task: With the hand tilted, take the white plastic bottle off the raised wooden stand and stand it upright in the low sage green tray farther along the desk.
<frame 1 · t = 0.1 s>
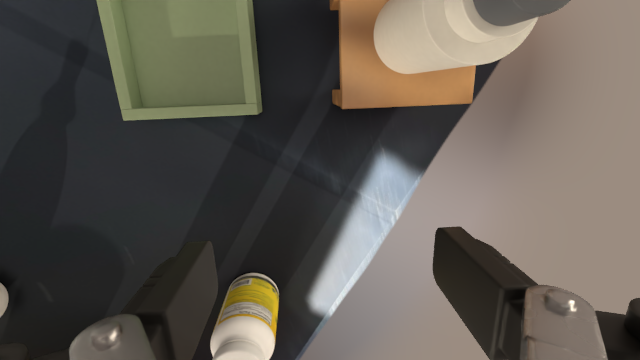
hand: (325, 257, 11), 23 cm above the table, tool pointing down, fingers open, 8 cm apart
wooden stand: (379, 49, 30), on the table
pill bottle: (254, 291, 37), on the table
sage green tray: (192, 44, 29), on the table
white bottle: (410, 33, 22), point 9 cm above the table, touching wooden stand
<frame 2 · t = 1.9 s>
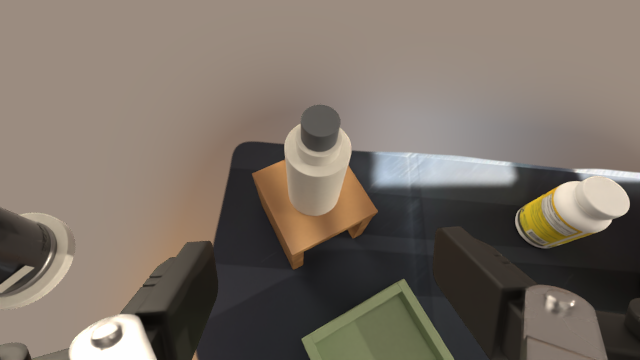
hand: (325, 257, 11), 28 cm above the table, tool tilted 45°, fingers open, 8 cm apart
wooden stand: (311, 219, 41), on the table
pill bottle: (534, 227, 42), on the table
white bottle: (313, 192, 33), point 9 cm above the table, touching wooden stand
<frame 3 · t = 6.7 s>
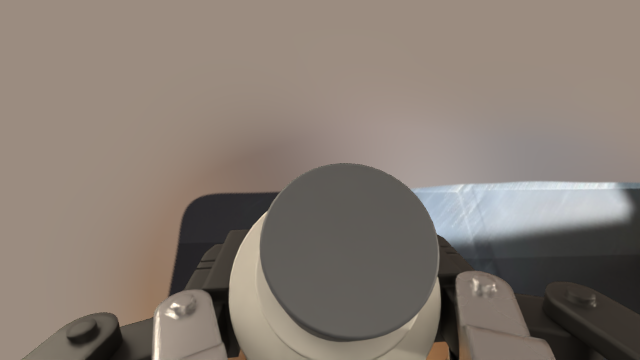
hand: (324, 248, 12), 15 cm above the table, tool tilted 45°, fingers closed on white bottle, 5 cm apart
wooden stand: (320, 324, 24), on the table
white bottle: (323, 313, 16), point 9 cm above the table, touching gripper, wooden stand
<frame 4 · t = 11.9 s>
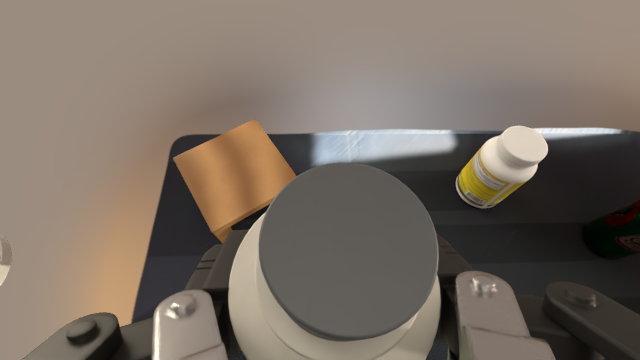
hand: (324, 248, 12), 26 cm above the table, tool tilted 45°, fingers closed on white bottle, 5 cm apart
wooden stand: (250, 203, 40), on the table
pill bottle: (475, 189, 42), on the table
soda can: (600, 240, 39), on the table
white bottle: (323, 313, 16), point 20 cm above the table, touching gripper
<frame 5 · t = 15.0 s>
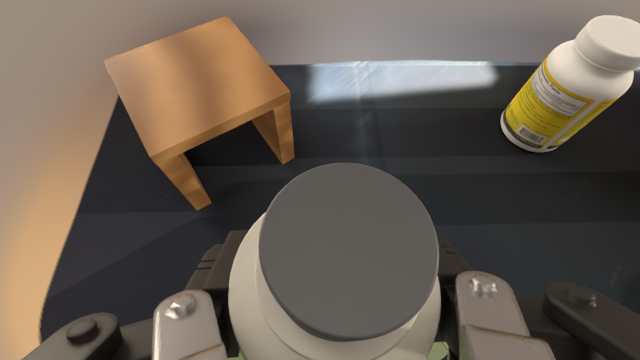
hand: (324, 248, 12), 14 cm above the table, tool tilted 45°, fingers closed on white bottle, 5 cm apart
wooden stand: (225, 146, 30), on the table
pill bottle: (527, 130, 32), on the table
sage green tray: (319, 321, 23), on the table
white bottle: (323, 313, 16), point 8 cm above the table, touching gripper
when the fingers open (7 cm above the table, at t = 17.2 s): white bottle stays where it is, resting on sage green tray.
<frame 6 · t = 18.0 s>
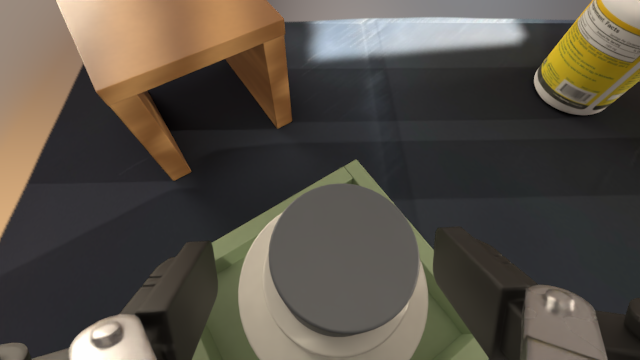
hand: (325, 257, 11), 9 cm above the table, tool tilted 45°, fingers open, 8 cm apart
wooden stand: (210, 109, 25), on the table
pill bottle: (565, 92, 27), on the table
sage green tray: (322, 313, 18), on the table
white bottle: (324, 312, 17), point 1 cm above the table, touching sage green tray
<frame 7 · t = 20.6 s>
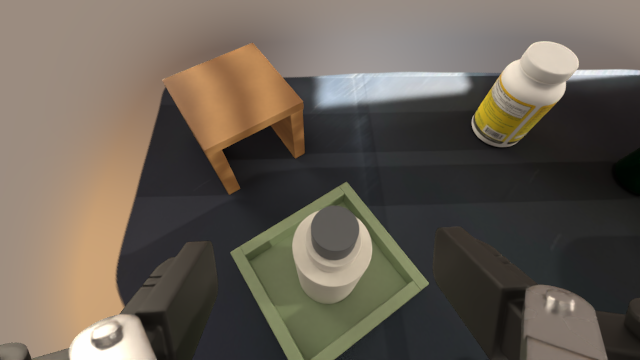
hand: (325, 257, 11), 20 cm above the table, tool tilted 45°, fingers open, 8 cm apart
wooden stand: (249, 144, 37), on the table
pill bottle: (493, 129, 39), on the table
soda can: (633, 179, 36), on the table
sage green tray: (326, 275, 30), on the table
white bottle: (327, 273, 29), point 1 cm above the table, touching sage green tray
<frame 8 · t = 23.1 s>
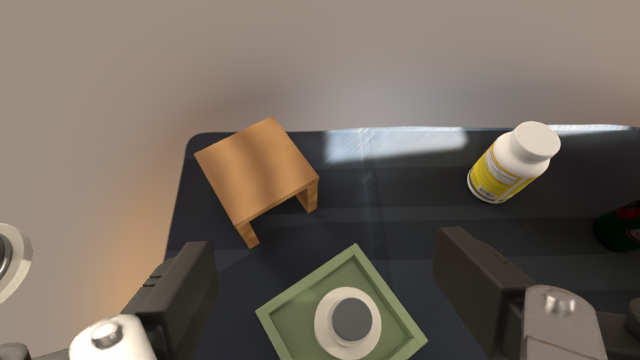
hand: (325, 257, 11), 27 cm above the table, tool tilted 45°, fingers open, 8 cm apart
wooden stand: (266, 199, 41), on the table
pill bottle: (487, 185, 43), on the table
soda can: (610, 234, 40), on the table
sage green tray: (337, 327, 34), on the table
white bottle: (339, 327, 33), point 1 cm above the table, touching sage green tray
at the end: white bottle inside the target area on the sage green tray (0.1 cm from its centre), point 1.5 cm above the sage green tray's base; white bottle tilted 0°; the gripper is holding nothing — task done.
